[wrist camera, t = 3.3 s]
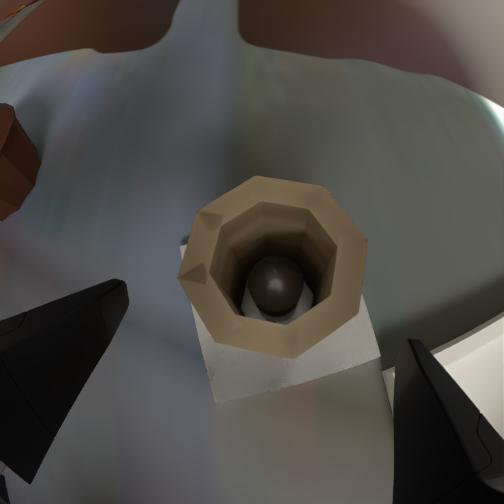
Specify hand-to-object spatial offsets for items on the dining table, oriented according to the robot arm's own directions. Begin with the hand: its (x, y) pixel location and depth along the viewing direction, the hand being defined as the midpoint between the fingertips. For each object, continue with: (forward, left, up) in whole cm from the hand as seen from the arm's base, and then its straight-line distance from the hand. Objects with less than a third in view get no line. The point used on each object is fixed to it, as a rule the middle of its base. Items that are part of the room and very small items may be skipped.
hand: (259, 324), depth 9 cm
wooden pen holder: (+1, +2, -9) cm, 9 cm away
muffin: (-22, +20, -10) cm, 31 cm away
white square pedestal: (+1, +2, -9) cm, 10 cm away
